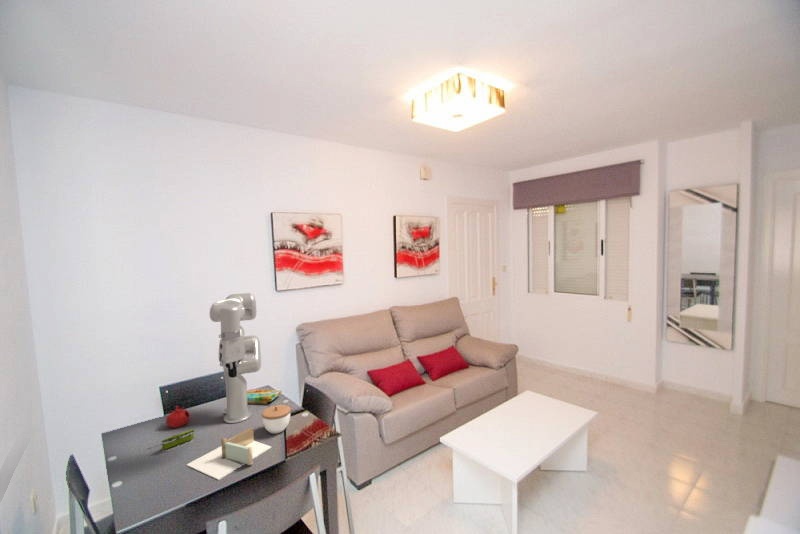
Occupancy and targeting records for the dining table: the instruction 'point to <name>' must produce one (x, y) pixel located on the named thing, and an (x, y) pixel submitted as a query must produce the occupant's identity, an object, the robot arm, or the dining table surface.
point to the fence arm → (239, 453)
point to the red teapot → (178, 418)
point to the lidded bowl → (276, 418)
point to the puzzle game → (261, 396)
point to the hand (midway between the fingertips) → (232, 376)
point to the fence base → (239, 440)
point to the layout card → (223, 461)
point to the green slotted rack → (177, 440)
